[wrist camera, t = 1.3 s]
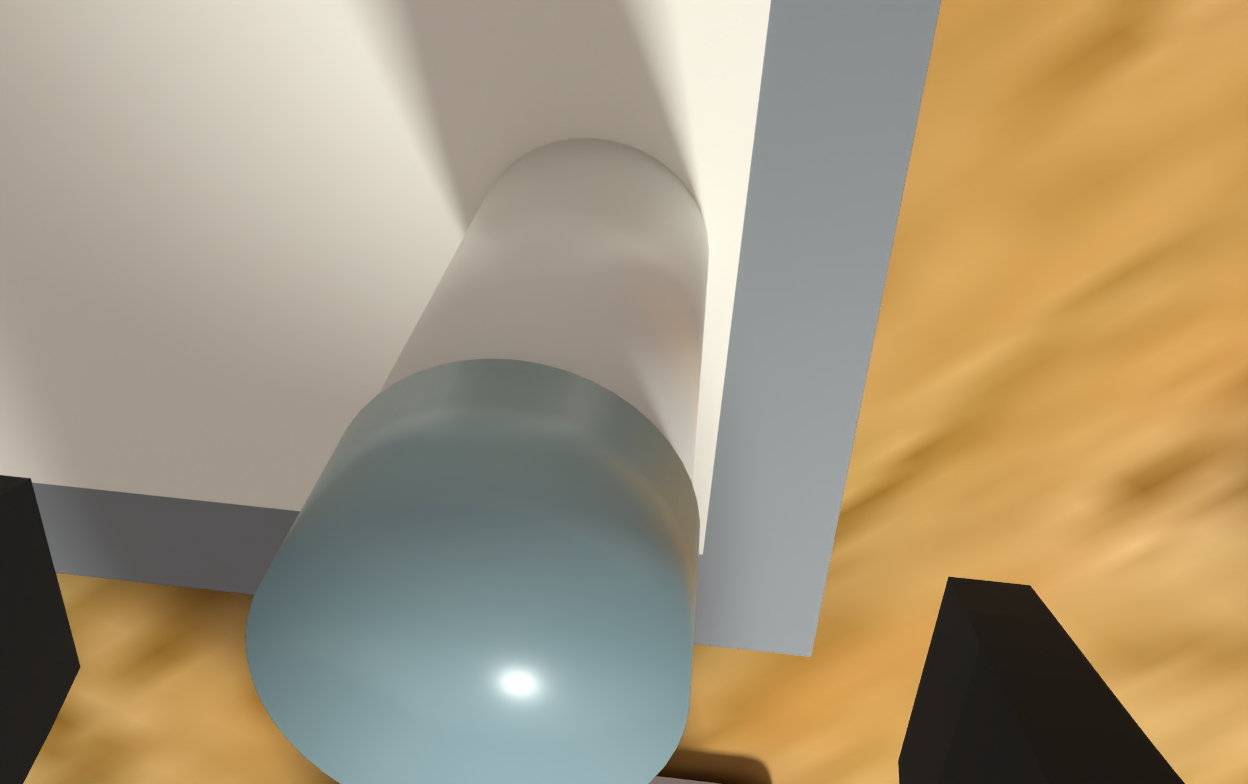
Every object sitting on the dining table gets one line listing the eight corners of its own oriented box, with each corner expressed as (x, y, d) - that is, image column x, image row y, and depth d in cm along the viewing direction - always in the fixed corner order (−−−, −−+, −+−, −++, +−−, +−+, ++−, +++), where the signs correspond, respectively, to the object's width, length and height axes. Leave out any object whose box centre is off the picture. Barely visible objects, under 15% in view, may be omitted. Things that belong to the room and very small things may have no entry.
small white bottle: (703, 372, 16) (671, 852, 9) (469, 349, 16) (269, 805, 10) (729, 142, 14) (711, 530, 8) (466, 119, 15) (218, 477, 8)
